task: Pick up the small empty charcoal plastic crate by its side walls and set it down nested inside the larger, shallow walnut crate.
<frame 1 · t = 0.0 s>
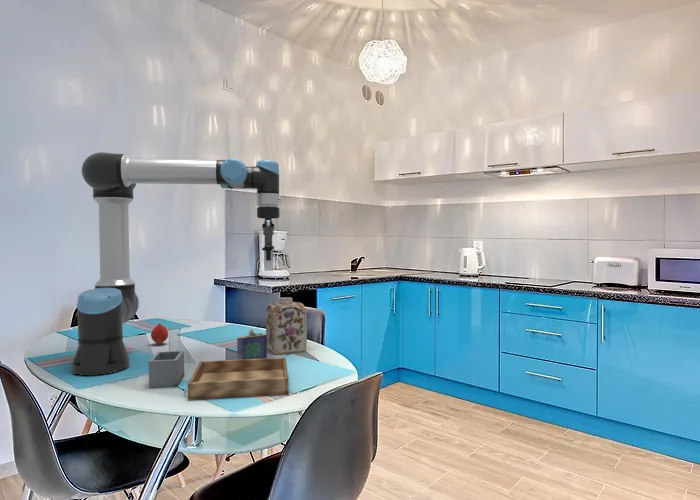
hand: (268, 269, 159), 28 cm above the table, fingers open, 13 cm apart
small crate: (167, 381, 127), on the table
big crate: (241, 384, 124), on the table
decorative jar: (286, 350, 162), on the table
flask: (252, 365, 143), on the table
onion: (159, 345, 169), on the table
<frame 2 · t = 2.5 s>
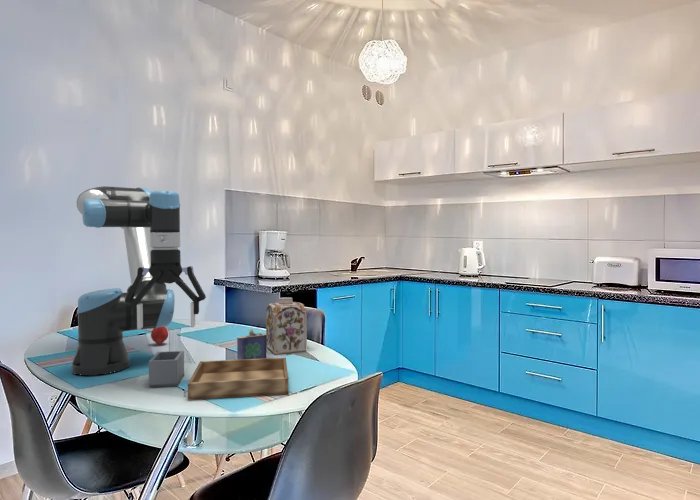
hand: (166, 327, 126), 15 cm above the table, fingers open, 13 cm apart
nothing on the table moved.
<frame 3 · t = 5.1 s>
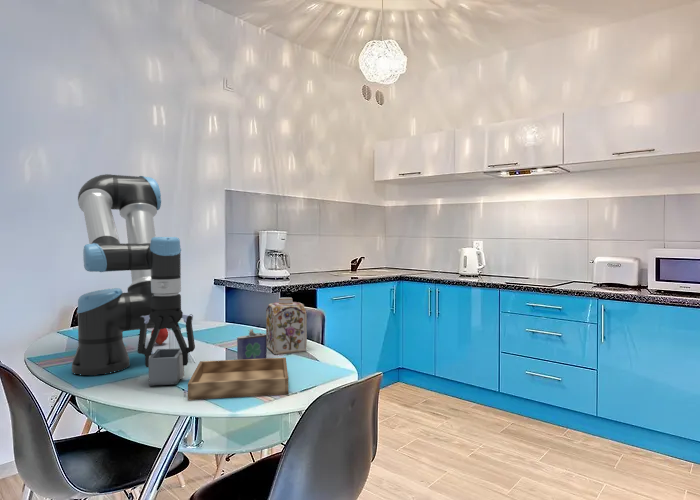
hand: (167, 377, 127), 1 cm above the table, fingers closed on small crate, 7 cm apart
small crate: (167, 378, 127), point 1 cm above the table, touching gripper
everything else where it was.
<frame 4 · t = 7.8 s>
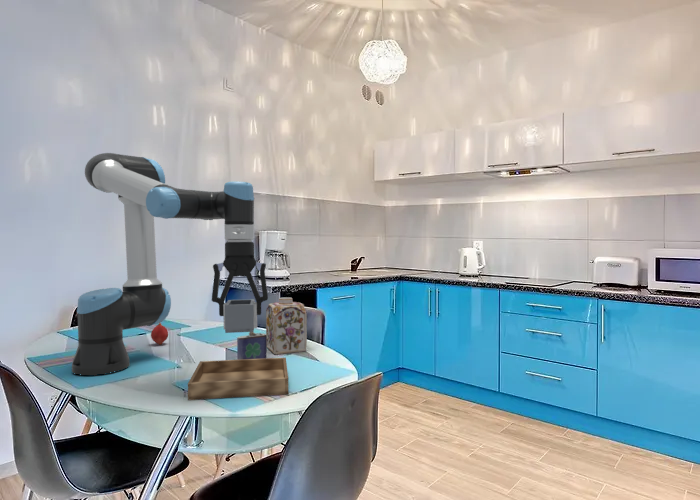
hand: (240, 327, 123), 15 cm above the table, fingers closed on small crate, 7 cm apart
small crate: (240, 328, 123), point 15 cm above the table, touching gripper
everything else where it was.
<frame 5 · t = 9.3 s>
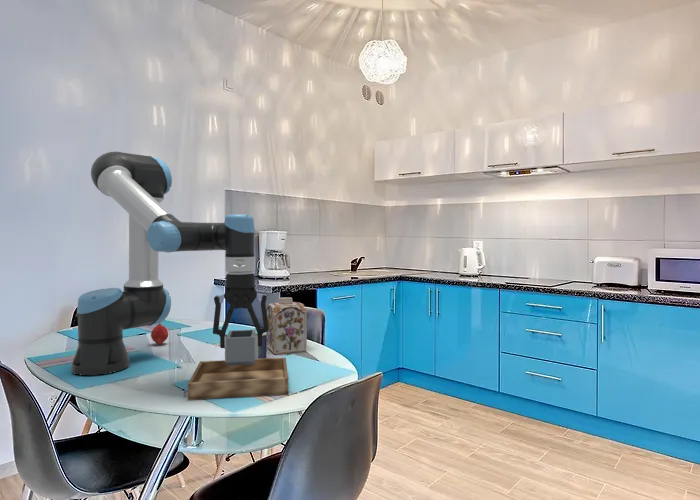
hand: (241, 359, 124), 7 cm above the table, fingers closed on small crate, 7 cm apart
small crate: (241, 360, 124), point 7 cm above the table, touching gripper
everything else where it was.
when the fingers open (3 cm above the table, at t = 10.5 s): small crate drops 2 cm, resting on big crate.
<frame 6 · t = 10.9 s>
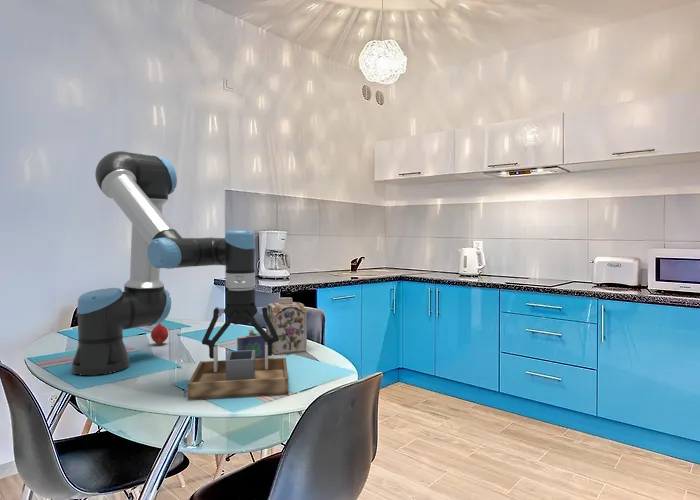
hand: (241, 369, 124), 4 cm above the table, fingers open, 12 cm apart
small crate: (241, 381, 124), point 1 cm above the table, touching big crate
everything else where it was.
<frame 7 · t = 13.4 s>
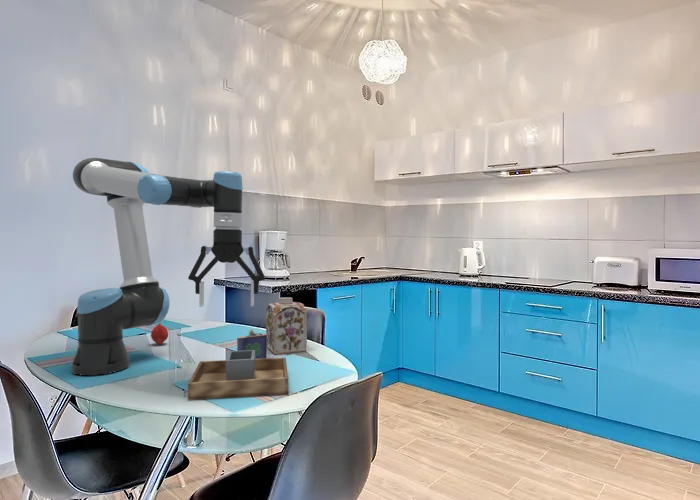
hand: (227, 305, 129), 20 cm above the table, fingers open, 13 cm apart
nothing on the table moved.
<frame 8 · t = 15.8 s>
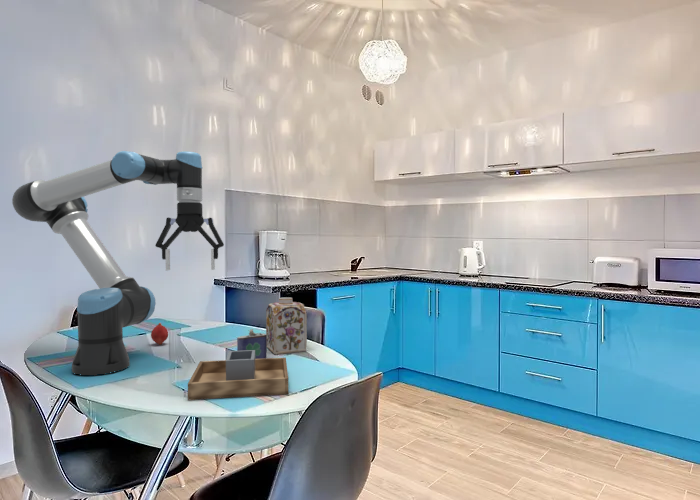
hand: (190, 269, 147), 29 cm above the table, fingers open, 13 cm apart
nothing on the table moved.
at the end: small crate inside the target area on the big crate (0.0 cm from its centre), point 0.8 cm above the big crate's base; small crate tilted 0°; small crate touching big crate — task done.
